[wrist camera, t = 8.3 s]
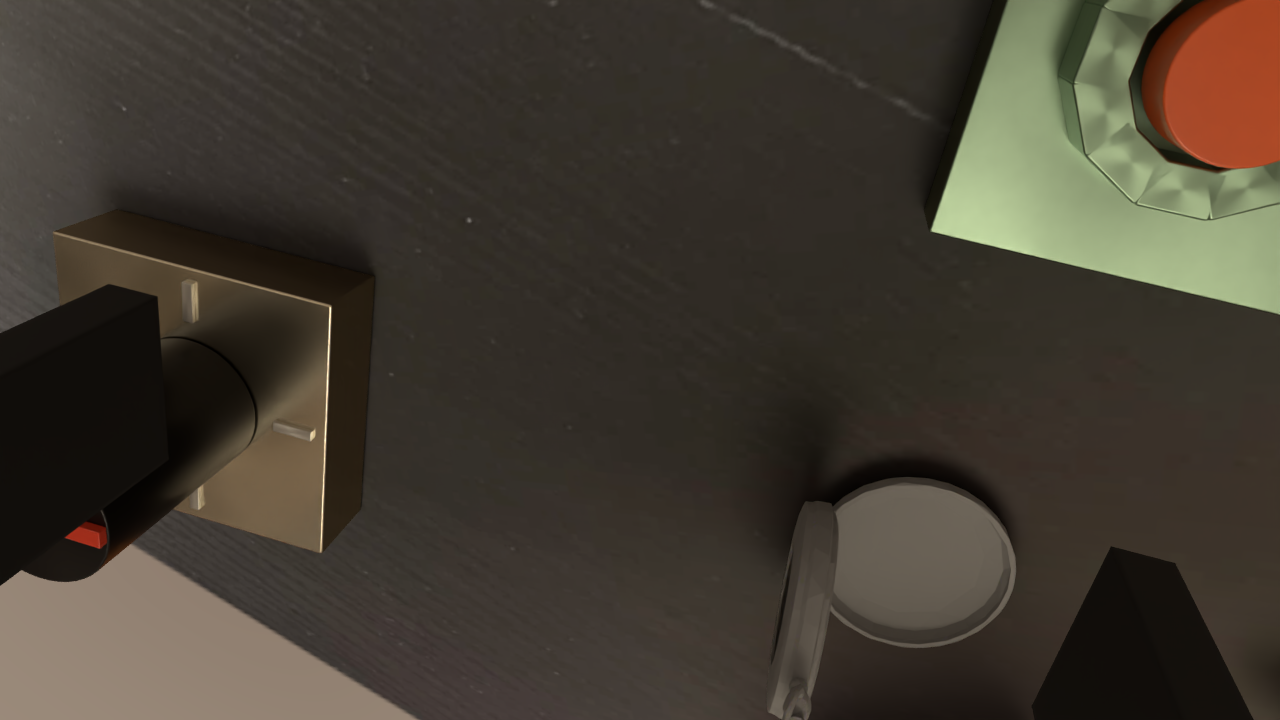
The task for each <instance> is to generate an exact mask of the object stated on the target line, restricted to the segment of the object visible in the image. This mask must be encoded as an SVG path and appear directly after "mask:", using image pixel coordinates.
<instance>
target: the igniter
mask: <svg viewBox="0 0 1280 720" xmlns="http://www.w3.org/2000/svg"><path fill="white" fill-rule="evenodd" d="M1202 1H1204V0H993V3H992V6H991V9H990V12H989V15H988V18H987V22H986V25H985V28H984V31H983V34H982V37H981V40H980V43H979V46H978V49H977V52H976V55H975V58H974V61H973V64H972V67H971V70H970V73H969V76H968V79H967V82H966V85H965V88H964V91H963V94H962V97H961V100H960V103H959V106H958V109H957V112H956V115H955V118H954V121H953V124H952V127H951V130H950V133H949V136H948V139H947V143H946V146H945V149H944V152H943V155H942V158H941V161H940V164H939V167H938V170H937V173H936V176H935V179H934V182H933V185H932V188H931V191H930V194H929V197H928V200H927V203H926V206H925V209H924V214H925V217H926V221H927V225H928V228H929V232H931V233H935V234H940V235H944V236H948V237H952V238H956V239H961V240H965V241H969V242H973V243H977V244H982V245H986V246H990V247H994V248H998V249H1003V250H1007V251H1011V252H1015V253H1019V254H1024V255H1028V256H1032V257H1036V258H1041V259H1045V260H1049V261H1053V262H1057V263H1062V264H1066V265H1070V266H1074V267H1078V268H1083V269H1087V270H1091V271H1095V272H1099V273H1104V274H1108V275H1112V276H1116V277H1120V278H1125V279H1129V280H1133V281H1137V282H1142V283H1146V284H1150V285H1154V286H1158V287H1163V288H1167V289H1171V290H1175V291H1179V292H1184V293H1188V294H1192V295H1196V296H1200V297H1205V298H1209V299H1213V300H1217V301H1221V302H1226V303H1230V304H1234V305H1238V306H1243V307H1247V308H1251V309H1255V310H1259V311H1264V312H1268V313H1272V314H1276V315H1280V161H1277V162H1274V163H1271V164H1268V165H1264V166H1259V167H1254V168H1244V169H1233V168H1223V167H1217V166H1214V165H1210V164H1207V163H1205V162H1203V161H1200V160H1198V159H1196V158H1195V157H1193V156H1191V155H1190V154H1188V153H1186V152H1185V151H1183V150H1182V149H1180V148H1178V147H1177V146H1175V145H1173V144H1172V143H1170V142H1169V141H1167V140H1166V139H1165V138H1163V137H1162V136H1161V135H1160V134H1159V133H1158V132H1157V131H1156V129H1155V128H1154V127H1153V126H1152V124H1151V122H1150V121H1149V119H1148V117H1147V115H1146V112H1145V110H1144V106H1143V101H1142V92H1141V86H1142V76H1143V71H1144V67H1145V64H1146V61H1147V58H1148V56H1149V54H1150V52H1151V50H1152V48H1153V46H1154V45H1155V43H1156V41H1157V40H1158V38H1159V37H1160V36H1161V34H1162V33H1163V32H1164V31H1165V29H1166V28H1167V27H1168V26H1169V25H1170V24H1171V23H1172V22H1173V21H1174V20H1175V19H1176V18H1177V17H1179V16H1180V15H1181V14H1182V13H1184V12H1185V11H1186V10H1188V9H1189V8H1191V7H1193V6H1194V5H1196V4H1198V3H1200V2H1202Z"/></svg>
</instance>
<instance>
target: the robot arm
mask: <svg viewBox="0 0 1280 720" xmlns="http://www.w3.org/2000/svg"><path fill="white" fill-rule="evenodd" d="M168 460H169V454H168V440H167V425H166V411H165V396H164V382H163V367H162V353H161V339H160V324H159V310H158V296H154V295H150V294H146V293H143V292H139V291H135V290H131V289H127V288H124V287H120V286H116V285H112V284H107V285H105V286H103V287H101V288H99V289H96V290H94V291H92V292H90V293H88V294H85V295H83V296H81V297H79V298H77V299H74V300H72V301H70V302H68V303H66V304H64V305H61V306H59V307H57V308H55V309H53V310H50V311H48V312H46V313H44V314H42V315H39V316H37V317H35V318H33V319H31V320H28V321H26V322H24V323H22V324H20V325H17V326H15V327H13V328H11V329H9V330H7V331H4V332H2V333H0V585H2V584H3V583H5V582H6V581H7V580H9V579H10V578H11V577H13V576H14V575H15V574H17V573H18V572H19V571H21V570H22V569H23V568H25V567H26V566H27V565H29V564H30V563H31V562H33V561H34V560H35V559H37V558H38V557H39V556H41V555H42V554H43V553H45V552H46V551H47V550H49V549H50V548H51V547H53V546H54V545H55V544H57V543H58V542H59V541H61V540H62V539H63V538H65V537H66V536H67V535H69V534H70V533H71V532H73V531H74V530H75V529H77V528H78V527H79V526H81V525H82V524H83V523H85V522H86V521H87V520H89V519H90V518H91V517H93V516H94V515H95V514H97V513H98V512H99V511H101V510H102V509H103V508H105V507H106V506H107V505H109V504H110V503H111V502H113V501H114V500H115V499H117V498H118V497H119V496H121V495H122V494H123V493H125V492H126V491H127V490H129V489H130V488H131V487H133V486H134V485H135V484H137V483H138V482H139V481H141V480H142V479H143V478H145V477H146V476H147V475H149V474H150V473H151V472H153V471H154V470H156V469H157V468H158V467H160V466H161V465H162V464H164V463H165V462H166V461H168ZM1032 709H1033V713H1034V718H1035V720H1253V718H1252V716H1251V714H1250V712H1249V710H1248V708H1247V706H1246V704H1245V702H1244V700H1243V698H1242V696H1241V694H1240V692H1239V690H1238V688H1237V686H1236V684H1235V682H1234V680H1233V678H1232V676H1231V674H1230V672H1229V670H1228V668H1227V666H1226V664H1225V662H1224V660H1223V658H1222V656H1221V654H1220V652H1219V650H1218V648H1217V646H1216V644H1215V642H1214V640H1213V638H1212V636H1211V634H1210V632H1209V630H1208V628H1207V626H1206V624H1205V622H1204V620H1203V618H1202V616H1201V614H1200V612H1199V610H1198V608H1197V606H1196V604H1195V602H1194V600H1193V598H1192V596H1191V594H1190V592H1189V590H1188V588H1187V586H1186V584H1185V582H1184V580H1183V578H1182V576H1181V574H1180V572H1179V570H1178V568H1177V566H1176V564H1175V563H1172V562H1169V561H1165V560H1161V559H1157V558H1153V557H1150V556H1146V555H1142V554H1138V553H1134V552H1130V551H1127V550H1123V549H1119V548H1115V547H1111V548H1110V550H1109V552H1108V554H1107V556H1106V558H1105V560H1104V562H1103V564H1102V566H1101V568H1100V570H1099V572H1098V574H1097V576H1096V578H1095V580H1094V582H1093V584H1092V586H1091V588H1090V590H1089V592H1088V594H1087V596H1086V598H1085V600H1084V602H1083V604H1082V606H1081V608H1080V610H1079V612H1078V614H1077V616H1076V618H1075V620H1074V622H1073V624H1072V626H1071V628H1070V630H1069V632H1068V634H1067V636H1066V638H1065V640H1064V642H1063V644H1062V646H1061V648H1060V650H1059V652H1058V654H1057V656H1056V658H1055V660H1054V662H1053V664H1052V666H1051V668H1050V670H1049V672H1048V674H1047V676H1046V679H1045V681H1044V683H1043V685H1042V687H1041V689H1040V691H1039V693H1038V695H1037V697H1036V699H1035V701H1034V703H1033V705H1032Z"/></svg>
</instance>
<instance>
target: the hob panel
mask: <svg viewBox="0 0 1280 720" xmlns="http://www.w3.org/2000/svg"><path fill="white" fill-rule="evenodd" d="M53 241H54V251H55V261H56V271H57V281H58V290H59V300H60V306H61V305H64V304H66V303H68V302H70V301H72V300H74V299H77V298H79V297H81V296H83V295H85V294H88V293H90V292H92V291H94V290H96V289H99V288H101V287H103V286H105V285H107V284H112V285H116V286H120V287H124V288H127V289H131V290H135V291H139V292H143V293H146V294H150V295H154V296H158V310H159V324H160V339H166V338H178V339H185V340H190V341H193V342H196V343H199V344H201V345H203V346H205V347H207V348H209V349H210V350H212V351H214V352H215V353H217V354H218V355H219V356H221V357H222V358H223V359H224V360H225V361H227V362H228V363H229V364H230V365H231V366H232V367H233V369H234V370H235V371H236V372H237V373H238V375H239V376H240V377H241V379H242V380H243V382H244V384H245V385H246V387H247V389H248V392H249V394H250V396H251V399H252V402H253V406H254V411H255V428H254V432H253V436H252V438H251V441H250V443H249V444H248V446H247V447H246V449H245V450H244V451H243V452H242V453H241V454H239V455H238V456H237V457H236V458H235V459H233V460H232V461H231V462H230V463H228V464H227V465H226V466H225V467H224V468H222V469H221V470H220V471H219V472H217V473H216V474H215V475H214V476H213V477H211V478H210V479H209V480H208V481H207V482H205V483H204V484H203V485H202V486H200V487H199V488H198V489H197V490H196V491H194V492H193V493H192V494H191V495H189V496H188V497H187V498H186V499H185V500H183V501H182V502H181V503H180V504H179V505H177V506H176V507H175V508H174V510H177V511H180V512H184V513H187V514H190V515H194V516H197V517H200V518H204V519H207V520H210V521H214V522H217V523H221V524H224V525H227V526H231V527H234V528H237V529H241V530H244V531H247V532H251V533H254V534H257V535H261V536H264V537H267V538H271V539H274V540H278V541H281V542H284V543H288V544H291V545H294V546H298V547H301V548H304V549H308V550H311V551H314V552H318V553H323V552H324V551H325V549H326V548H327V547H328V546H329V545H330V544H331V543H332V541H333V540H334V539H335V538H336V537H337V536H338V535H339V533H340V532H341V531H342V530H343V529H344V528H345V527H346V526H347V524H348V523H349V522H350V521H351V520H352V519H353V518H354V516H355V515H356V514H357V513H358V512H359V511H360V509H361V492H362V476H363V460H364V443H365V427H366V411H367V394H368V378H369V362H370V345H371V329H372V313H373V296H374V280H375V278H374V276H371V275H367V274H363V273H360V272H356V271H352V270H348V269H344V268H340V267H337V266H333V265H329V264H325V263H321V262H317V261H314V260H310V259H306V258H302V257H298V256H294V255H290V254H287V253H283V252H279V251H275V250H271V249H267V248H264V247H260V246H256V245H252V244H248V243H244V242H241V241H237V240H233V239H229V238H225V237H221V236H218V235H214V234H210V233H206V232H202V231H198V230H194V229H191V228H187V227H183V226H179V225H175V224H171V223H168V222H164V221H160V220H156V219H152V218H148V217H145V216H141V215H137V214H133V213H129V212H125V211H121V210H118V209H116V210H113V211H110V212H107V213H104V214H102V215H99V216H96V217H93V218H90V219H87V220H84V221H82V222H79V223H76V224H73V225H70V226H67V227H65V228H62V229H59V230H56V231H54V232H53Z"/></svg>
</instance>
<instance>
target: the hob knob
mask: <svg viewBox="0 0 1280 720" xmlns="http://www.w3.org/2000/svg"><path fill="white" fill-rule="evenodd" d="M161 353H162V367H163V382H164V396H165V411H166V425H167V440H168V454H169V460H168V461H166V462H165V463H164V464H162V465H161V466H160V467H158V468H157V469H156V470H154V471H153V472H151V473H150V474H149V475H147V476H146V477H145V478H143V479H142V480H141V481H139V482H138V483H137V484H135V485H134V486H133V487H131V488H130V489H129V490H127V491H126V492H125V493H123V494H122V495H121V496H119V497H118V498H117V499H115V500H114V501H113V502H111V503H110V504H109V505H107V506H106V507H105V508H103V509H102V510H101V511H99V512H98V513H97V514H95V515H94V516H93V517H91V518H90V519H89V520H87V521H86V522H85V523H83V524H82V525H81V526H79V527H78V528H77V529H75V530H74V531H73V532H71V533H70V534H69V535H67V536H66V537H65V538H63V539H62V540H61V541H59V542H58V543H57V544H55V545H54V546H53V547H51V548H50V549H49V550H47V551H46V552H45V553H43V554H42V555H41V556H39V557H38V558H37V559H35V560H34V561H33V562H31V563H30V564H29V565H27V566H26V567H25V568H23V569H22V570H23V571H25V572H27V573H29V574H32V575H34V576H37V577H39V578H43V579H47V580H51V581H58V582H71V581H78V580H81V579H85V578H87V577H89V576H91V575H93V574H94V573H95V572H97V571H98V570H99V569H101V568H102V567H103V566H104V565H105V564H107V563H108V562H109V561H110V560H112V559H113V558H114V557H115V556H116V555H118V554H119V553H120V552H121V551H122V550H124V549H125V548H126V547H127V546H129V545H130V544H131V543H132V542H133V541H135V540H136V539H137V538H138V537H140V536H141V535H142V534H143V533H144V532H146V531H147V530H148V529H149V528H150V527H152V526H153V525H154V524H155V523H157V522H158V521H159V520H160V519H161V518H163V517H164V516H165V515H166V514H168V513H169V512H170V511H171V510H172V509H174V508H175V507H176V506H177V505H179V504H180V503H181V502H182V501H183V500H185V499H186V498H187V497H188V496H189V495H191V494H192V493H193V492H194V491H196V490H197V489H198V488H199V487H200V486H202V485H203V484H204V483H205V482H207V481H208V480H209V479H210V478H211V477H213V476H214V475H215V474H216V473H217V472H219V471H220V470H221V469H222V468H224V467H225V466H226V465H227V464H228V463H230V462H231V461H232V460H233V459H235V458H236V457H237V456H238V455H239V454H241V453H242V452H243V451H244V450H245V449H246V447H247V446H248V444H249V443H250V441H251V438H252V436H253V432H254V428H255V411H254V406H253V402H252V399H251V396H250V394H249V392H248V389H247V387H246V385H245V384H244V382H243V380H242V379H241V377H240V376H239V375H238V373H237V372H236V371H235V370H234V369H233V367H232V366H231V365H230V364H229V363H228V362H227V361H225V360H224V359H223V358H222V357H221V356H219V355H218V354H217V353H215V352H214V351H212V350H210V349H209V348H207V347H205V346H203V345H201V344H199V343H196V342H193V341H190V340H185V339H178V338H166V339H161Z"/></svg>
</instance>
